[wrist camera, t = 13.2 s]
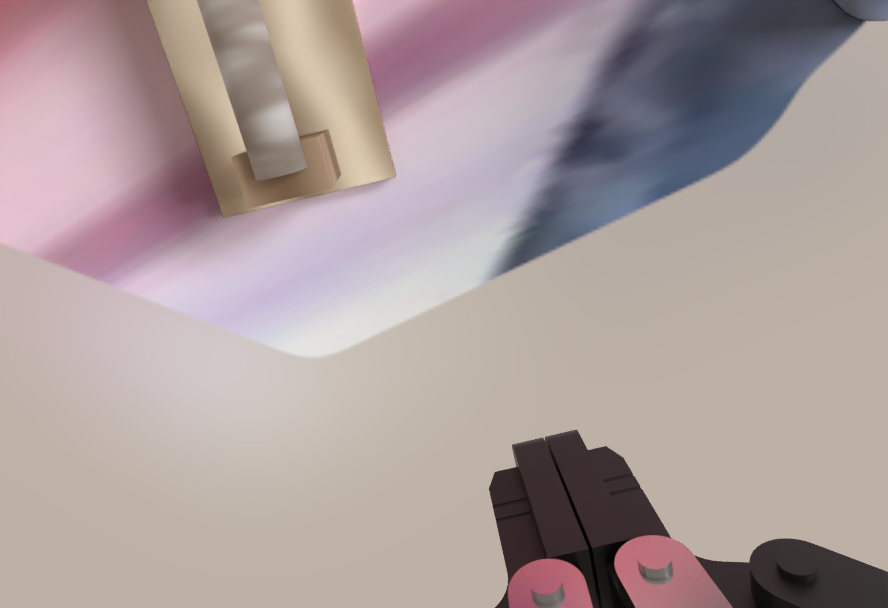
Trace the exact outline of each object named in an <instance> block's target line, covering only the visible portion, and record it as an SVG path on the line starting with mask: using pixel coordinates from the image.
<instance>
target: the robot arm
mask: <svg viewBox="0 0 888 608" xmlns="http://www.w3.org/2000/svg"><path fill="white" fill-rule="evenodd" d="M835 2H836V3H837V4H838V5H839V6H840V7H841V8H842V9H843V10H844V11H845V12H847V13H849V14H850V15H852V16H854V17H856V18H858V19H863V20H867V21H887V20H888V0H835ZM512 448H513V453H514V458H515V462H516V467H515V468H510V469H507V470H502V471H497V472H495V473H494V476H493V479H492V482H491V485H490V487H489V491H490V495H491V500H492V504H493V509H494V514H495V517H496V522H497V527H498V532H499V536H500V541H501V545H502V550H503V554H504V559H505V564H506V568H507V573H508V586H507V590H506V593H505V595H504V597H503V598H502V600H501V601H500V603H499V604H498V605H497V606H496V607H495V608H888V572H886V571H884V570H881V569H878V568H876V567H873V566H871V565H868V564H865V563H863V562H860V561H857V560H854V559H852V558H850V557H847V556H844V555H842V554H839V553H836V552H834V551H831V550H828V549H826V548H823V547H820V546H818V545H815V544H812V543H809V542H806V541H802V540H797V539H775V540H771V541H768V542H765V543H763V544H761V545H760V546H758V547H757V548H756V549H755V550H754V551H753V553H752V555H751V557H750V563H744V562H721V561H711V560H707V559H703V558H700V557H697V556H695V555H693V553H692V552H691V551H690V550H689V549H688V548H687V547H686V546H685V545H683V544H682V543H680V542H678V541H676V540H674V539H672V538H671V537H670V535H669V534H668V532H667V530H666V529H665V527H664V525H663V524H662V522H661V520H660V519H659V517H658V515H657V514H656V512H655V510H654V509H653V507H652V505H651V503H650V502H649V500H648V498H647V497H646V495H645V494H644V492H643V490H642V489H641V488H640V485H639V483H638V482H637V480H636V478H635V477H634V476H633V474H632V472H631V470H630V468H629V467H628V465H627V463H626V462H625V460H624V458H623V457H621V456H620V455H618V454H616V453H615V452H614V451H612V450H611V449H609V448H608V447H606V446H605V447H601V448H596V449H592V450H587V448H586V446H585V444H584V442H583V440H582V438H581V436H580V434H579V432H578V431H577V430H573V431H568V432H564V433H560V434H556V435H551V436H547V437H545V440H544V439H543V438H539V439H534V440H530V441H526V442H522V443H517V444H513V445H512Z"/></svg>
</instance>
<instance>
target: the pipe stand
mask: <svg viewBox="0 0 888 608" xmlns="http://www.w3.org/2000/svg"><path fill="white" fill-rule="evenodd" d="M146 1H147V4H148V6H149V9H150V12H151V15H152V18H153V21H154V23H155V26H156V29H157V32H158V35H159V37H160V40H161V43H162V46H163V49H164V51H165V54H166V57H167V60H168V63H169V65H170V68H171V71H172V74H173V77H174V79H175V82H176V85H177V88H178V91H179V93H180V96H181V99H182V102H183V105H184V107H185V110H186V113H187V116H188V119H189V122H190V124H191V127H192V130H193V133H194V136H195V138H196V141H197V144H198V147H199V150H200V152H201V155H202V158H203V161H204V164H205V166H206V169H207V172H208V175H209V178H210V180H211V183H212V186H213V189H214V192H215V194H216V197H217V200H218V203H219V206H220V208H221V211H222V214H223V217H224V218H225V217H230V216H234V215H238V214H242V213H246V212H251V211H255V210H259V209H263V208H267V207H272V206H276V205H280V204H284V203H288V202H293V201H297V200H301V199H305V198H309V197H314V196H318V195H322V194H326V193H331V192H335V191H339V190H343V189H347V188H352V187H356V186H360V185H364V184H368V183H373V182H377V181H381V180H385V179H389V178H394V177H396V173H395V169H394V165H393V161H392V157H391V153H390V149H389V145H388V141H387V137H386V133H385V129H384V125H383V121H382V117H381V113H380V109H379V105H378V101H377V97H376V93H375V89H374V85H373V81H372V77H371V73H370V69H369V65H368V61H367V57H366V53H365V49H364V45H363V41H362V37H361V33H360V29H359V25H358V21H357V17H356V13H355V9H354V5H353V1H352V0H146Z"/></svg>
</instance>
